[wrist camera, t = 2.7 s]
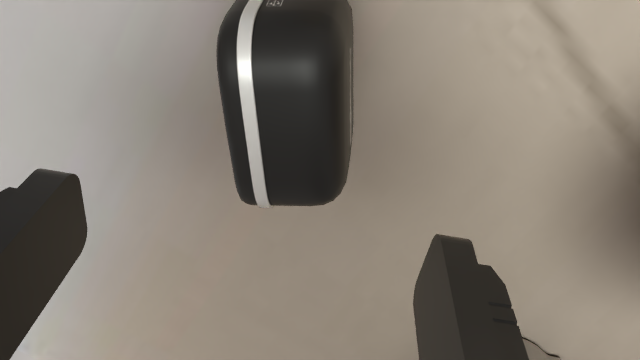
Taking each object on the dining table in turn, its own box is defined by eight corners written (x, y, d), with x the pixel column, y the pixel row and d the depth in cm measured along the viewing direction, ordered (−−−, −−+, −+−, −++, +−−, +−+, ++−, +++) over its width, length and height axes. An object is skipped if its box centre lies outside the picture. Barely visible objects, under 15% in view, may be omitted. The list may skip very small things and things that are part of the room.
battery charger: (355, 91, 26) (350, 231, 17) (284, 91, 26) (239, 229, 17) (356, -54, 22) (349, 22, 13) (272, -52, 22) (204, 24, 13)
